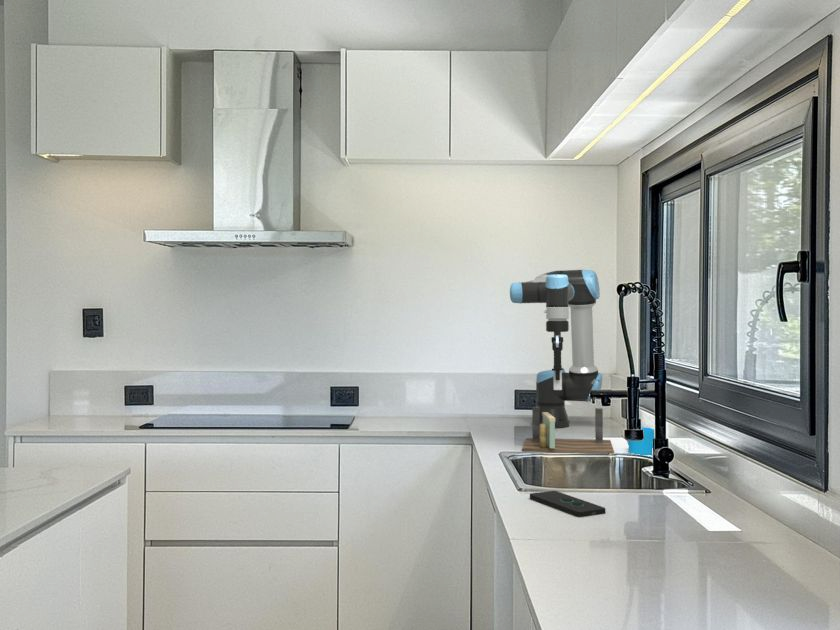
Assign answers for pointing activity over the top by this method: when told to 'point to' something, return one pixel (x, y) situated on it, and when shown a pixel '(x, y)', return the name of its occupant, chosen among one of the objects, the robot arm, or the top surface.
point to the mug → (643, 443)
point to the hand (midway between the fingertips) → (557, 389)
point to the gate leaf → (549, 428)
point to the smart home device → (567, 503)
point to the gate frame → (567, 445)
